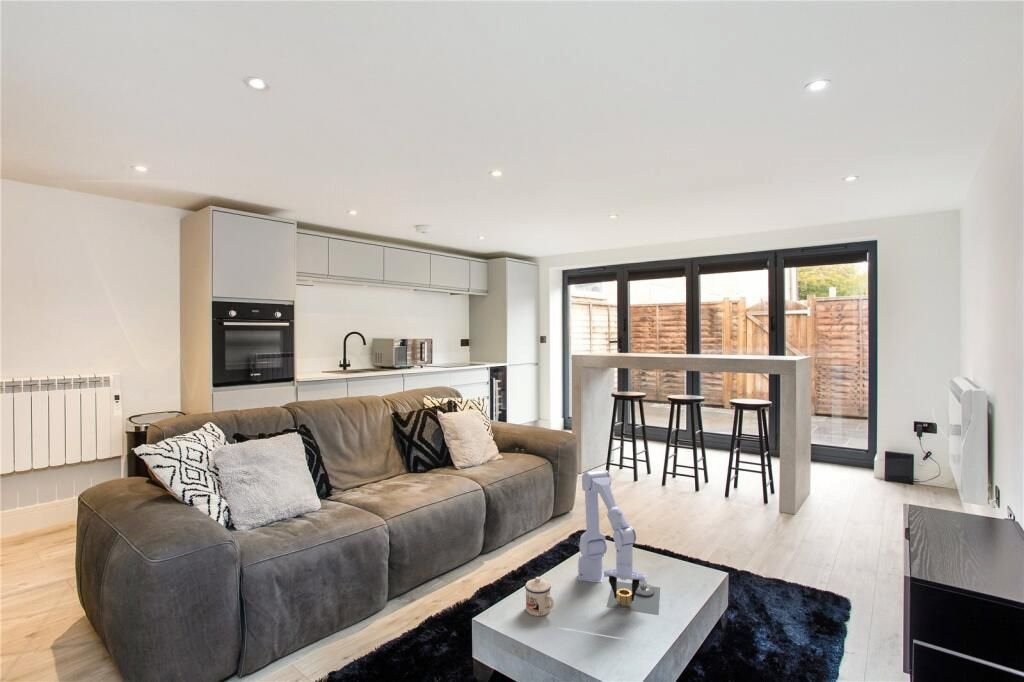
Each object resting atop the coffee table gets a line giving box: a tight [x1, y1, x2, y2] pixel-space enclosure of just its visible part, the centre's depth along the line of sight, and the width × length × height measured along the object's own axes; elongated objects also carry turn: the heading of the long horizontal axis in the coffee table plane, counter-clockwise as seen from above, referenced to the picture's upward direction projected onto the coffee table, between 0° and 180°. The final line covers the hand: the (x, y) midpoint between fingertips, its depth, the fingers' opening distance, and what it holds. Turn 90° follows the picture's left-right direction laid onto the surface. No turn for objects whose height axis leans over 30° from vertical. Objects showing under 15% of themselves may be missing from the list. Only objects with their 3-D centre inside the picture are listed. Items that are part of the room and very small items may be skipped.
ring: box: [616, 588, 632, 605], centre depth 189 cm, size 5×5×3 cm
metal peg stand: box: [635, 579, 655, 597], centre depth 199 cm, size 8×8×4 cm
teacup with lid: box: [524, 576, 555, 617], centre depth 186 cm, size 12×9×12 cm
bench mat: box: [606, 580, 661, 616], centre depth 195 cm, size 18×20×1 cm
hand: (624, 598), depth 189 cm, fingers closed on ring, 5 cm apart
